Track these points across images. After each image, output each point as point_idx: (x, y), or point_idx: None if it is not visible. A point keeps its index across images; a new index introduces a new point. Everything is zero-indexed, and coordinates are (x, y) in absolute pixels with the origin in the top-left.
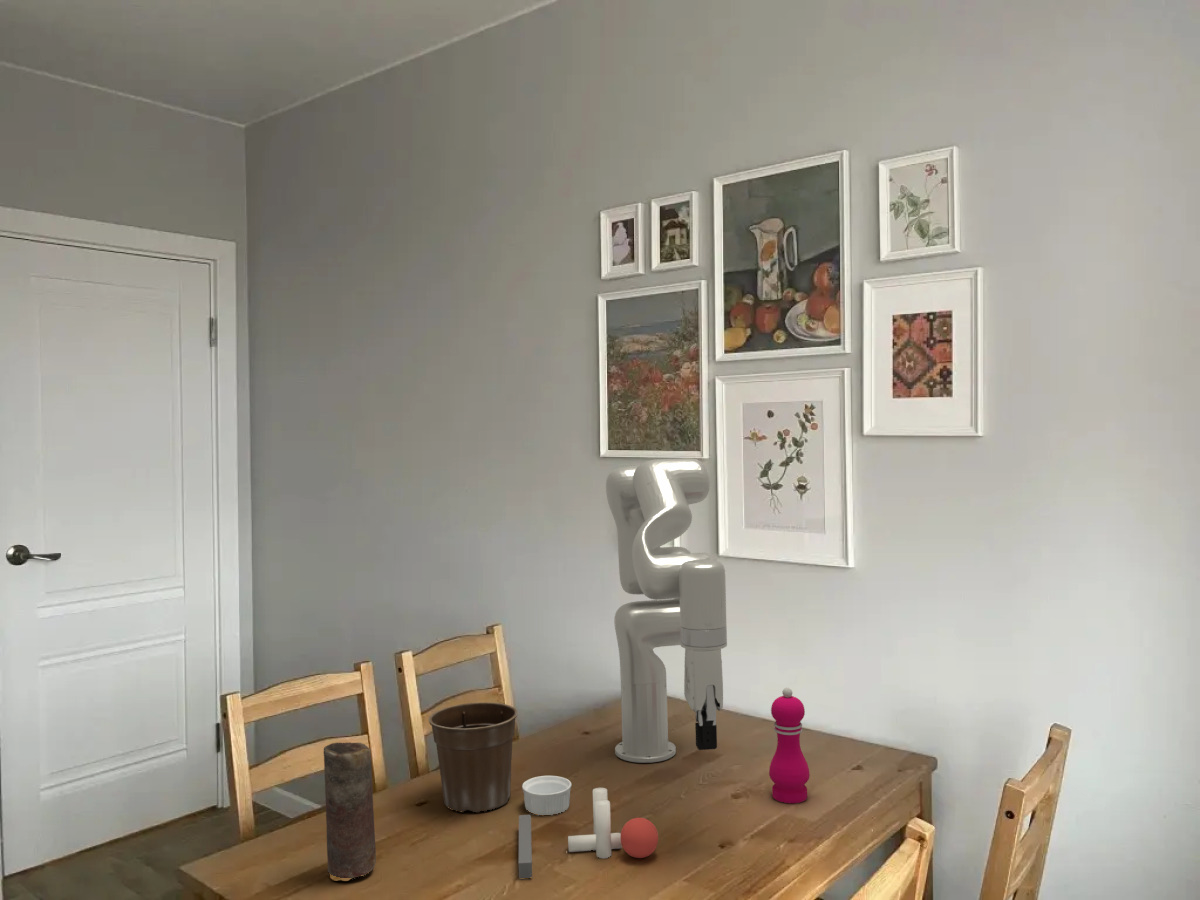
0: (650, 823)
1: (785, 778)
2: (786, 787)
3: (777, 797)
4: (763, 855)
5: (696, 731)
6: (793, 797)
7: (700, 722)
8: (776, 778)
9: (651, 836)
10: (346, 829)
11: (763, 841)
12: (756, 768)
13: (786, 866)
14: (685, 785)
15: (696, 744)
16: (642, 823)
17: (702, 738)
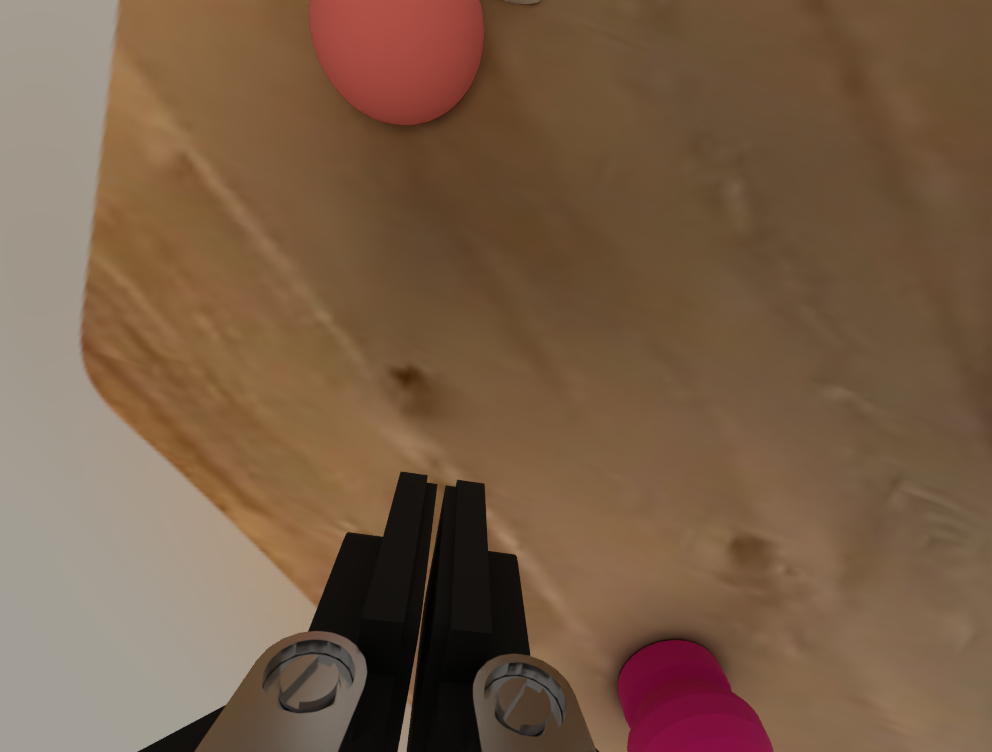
0: (367, 66)
1: (648, 727)
2: (647, 700)
3: (659, 650)
4: (307, 470)
5: (453, 565)
6: (623, 688)
7: (242, 698)
8: (674, 703)
9: (323, 62)
10: None
11: None
12: (909, 674)
13: (220, 503)
14: (914, 432)
15: (459, 487)
16: (347, 9)
17: (366, 563)
